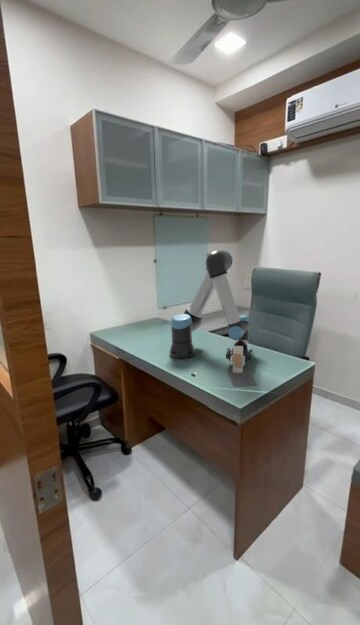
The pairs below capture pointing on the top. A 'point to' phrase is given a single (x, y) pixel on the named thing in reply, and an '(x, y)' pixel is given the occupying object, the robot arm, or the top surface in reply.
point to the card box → (238, 359)
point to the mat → (241, 378)
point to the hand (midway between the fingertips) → (237, 362)
